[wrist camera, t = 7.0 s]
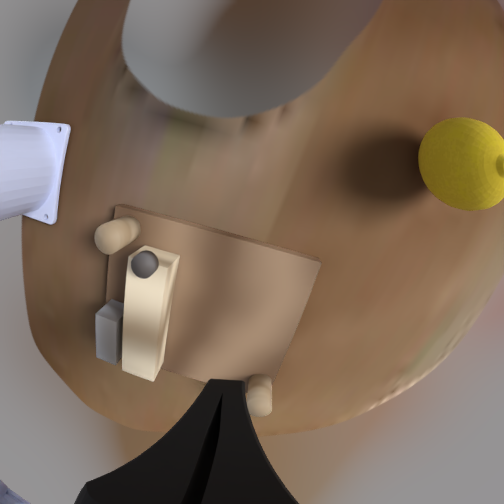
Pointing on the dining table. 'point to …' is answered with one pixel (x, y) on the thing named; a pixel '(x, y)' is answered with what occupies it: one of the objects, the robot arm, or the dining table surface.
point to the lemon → (463, 163)
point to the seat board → (211, 300)
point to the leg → (147, 310)
